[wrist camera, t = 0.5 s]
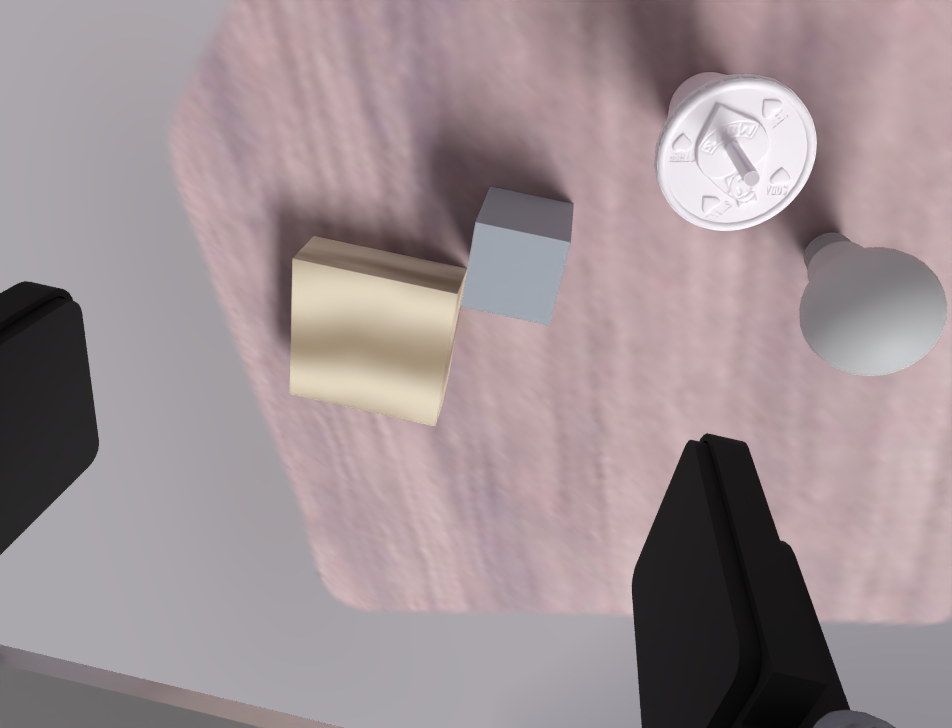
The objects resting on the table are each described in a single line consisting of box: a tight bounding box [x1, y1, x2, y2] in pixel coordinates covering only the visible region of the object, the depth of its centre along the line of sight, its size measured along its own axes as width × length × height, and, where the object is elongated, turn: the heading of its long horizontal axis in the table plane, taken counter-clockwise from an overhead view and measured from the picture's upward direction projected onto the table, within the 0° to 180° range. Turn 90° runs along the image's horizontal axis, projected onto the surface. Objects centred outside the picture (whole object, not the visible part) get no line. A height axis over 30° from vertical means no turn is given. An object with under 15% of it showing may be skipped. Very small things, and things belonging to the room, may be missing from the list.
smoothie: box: [654, 72, 817, 231], centre depth 31 cm, size 6×6×14 cm
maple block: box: [290, 236, 467, 426], centre depth 45 cm, size 10×10×4 cm
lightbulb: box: [800, 233, 947, 376], centre depth 35 cm, size 6×6×11 cm
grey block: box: [461, 186, 574, 325], centre depth 40 cm, size 5×5×6 cm
